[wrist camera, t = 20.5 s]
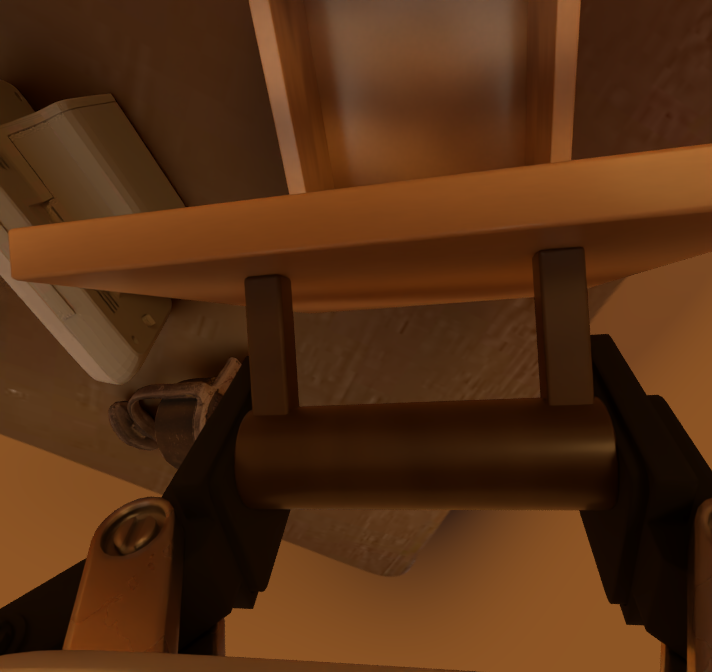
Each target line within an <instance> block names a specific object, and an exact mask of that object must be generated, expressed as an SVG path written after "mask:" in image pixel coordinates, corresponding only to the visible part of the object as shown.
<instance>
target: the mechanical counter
mask: <svg viewBox="0 0 712 672" xmlns="http://www.w3.org/2000/svg"><path fill="white" fill-rule="evenodd" d="M241 365H242V364H241V363H240V362H239V361H238V360H237V359H236V358H233V357H231V358H229V359H228V360H227V362H226V364H225V366H224V367H223V369H222V370H221V371H220V373H219V374H218V376H217V377H213V378H196V379H189V380H184V381H181V382H179V383H176V384H155V385H149V386H146V387H142V388H140V389H138V390H137V391H136V392H135V393H134V394H133V396H132V397H131V399H130V400H129V402H128V401H120V402H115V403H114V404H113V405H111V406H110V408H109V411H108V413H109V421H110V423H111V426H112V428H113V430H114V432H115V433H116V434H117V436H118V437H119V438H120V439H121V440H122V441H124V442H125V443H126V444H128V445H130V446H133V447H135V448H138V449H143V450H155V449H157V448H159V450H160V452H161V454H162V456H163V457H164V458H165V460H166V461H167V462H168V463H170V464H171V465H172V466H174V467H175V468H177V469H179V467H180V465H181V464H182V462H183V460H184V459H185V457H186V455H187V454H188V452H189V450H190V449H191V447H192V445H193V444H194V442H195V440H196V439H197V437H198V435H199V433H200V432H201V430H202V428H203V427H204V425H205V423H206V422H207V420H208V418H209V417H210V416H211V415H212V413H213V412H214V411H215V409H216V407H217V406H218V404H219V402H220V401H221V399H222V397H223V395H224V394H225V392H226V390H227V389H228V387H229V385H230V384H231V382H232V380H233V379H234V377H235V375H236V373H237V372H238V370H239V368H240V367H241ZM152 398H159V399H161V398H162V400H161V402H160V404H159V406H158V410H157V413H156V417H155V421H154V419H153V418H152V417H151V416H150V415H149V414H148V413H147V412H146V411H145V410H144V409H143V408H141V407H140V404H139V400H143V399H152Z"/></svg>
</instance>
